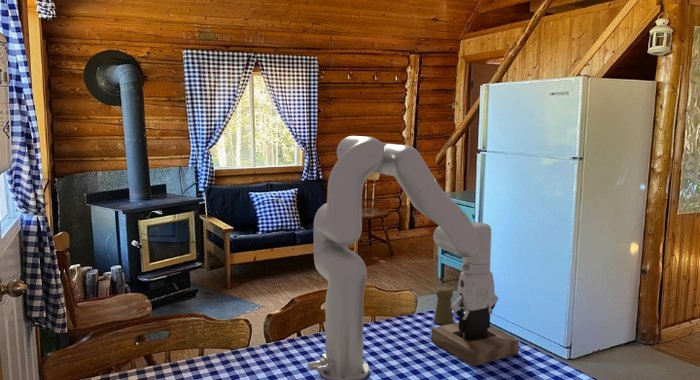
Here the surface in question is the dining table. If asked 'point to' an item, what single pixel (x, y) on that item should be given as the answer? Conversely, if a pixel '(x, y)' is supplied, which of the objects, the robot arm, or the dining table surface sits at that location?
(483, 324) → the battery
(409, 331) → the dining table surface
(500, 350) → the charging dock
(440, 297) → the cork
